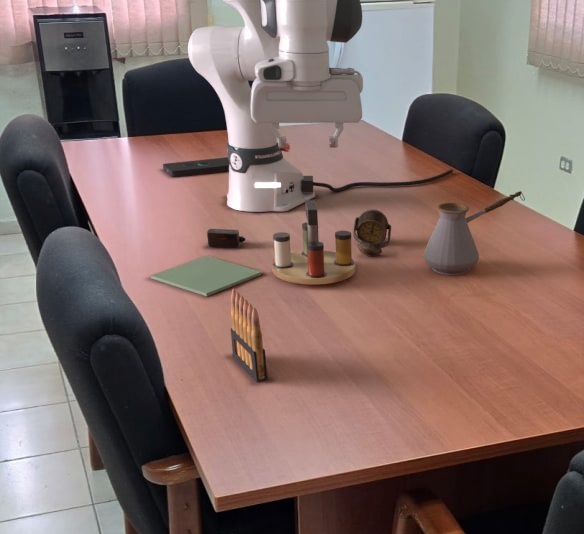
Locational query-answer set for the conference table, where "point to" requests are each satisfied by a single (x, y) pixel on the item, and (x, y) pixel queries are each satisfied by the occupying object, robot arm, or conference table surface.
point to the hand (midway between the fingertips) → (308, 147)
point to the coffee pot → (455, 238)
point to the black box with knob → (224, 238)
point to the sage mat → (206, 275)
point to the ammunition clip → (247, 338)
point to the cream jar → (282, 249)
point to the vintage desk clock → (371, 232)
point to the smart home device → (197, 167)
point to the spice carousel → (318, 256)
